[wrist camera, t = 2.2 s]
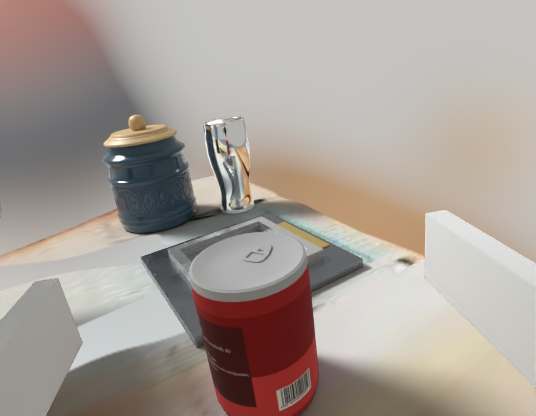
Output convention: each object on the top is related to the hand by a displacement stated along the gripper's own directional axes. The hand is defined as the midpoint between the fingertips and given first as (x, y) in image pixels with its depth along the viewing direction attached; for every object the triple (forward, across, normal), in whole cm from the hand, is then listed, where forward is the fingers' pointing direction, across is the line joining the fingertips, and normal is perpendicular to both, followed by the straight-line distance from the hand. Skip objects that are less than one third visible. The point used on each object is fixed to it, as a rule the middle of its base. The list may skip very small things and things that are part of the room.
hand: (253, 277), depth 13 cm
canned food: (+10, 0, -16) cm, 19 cm away
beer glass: (+50, 0, -15) cm, 52 cm away
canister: (+50, -14, -15) cm, 54 cm away
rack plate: (+29, -1, -15) cm, 33 cm away
